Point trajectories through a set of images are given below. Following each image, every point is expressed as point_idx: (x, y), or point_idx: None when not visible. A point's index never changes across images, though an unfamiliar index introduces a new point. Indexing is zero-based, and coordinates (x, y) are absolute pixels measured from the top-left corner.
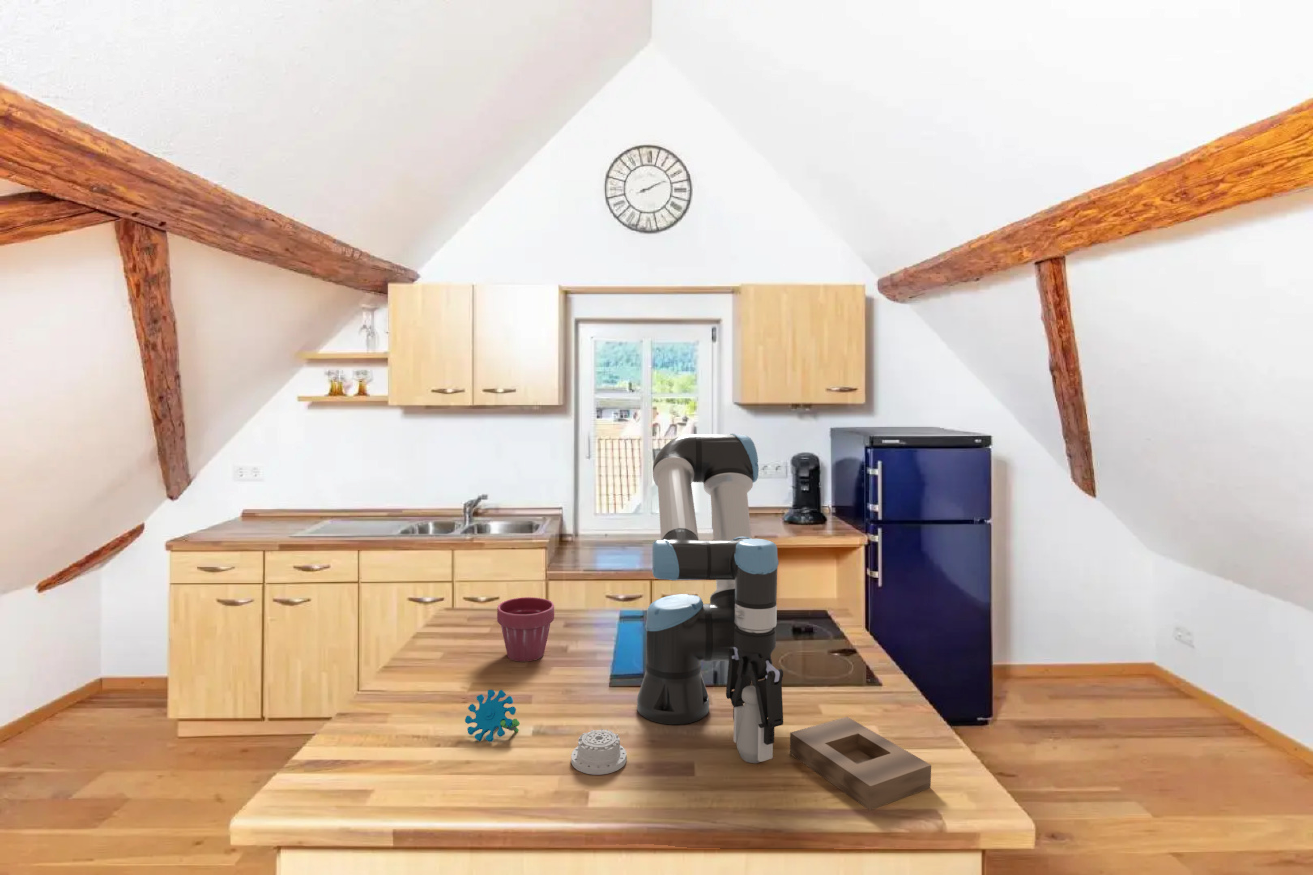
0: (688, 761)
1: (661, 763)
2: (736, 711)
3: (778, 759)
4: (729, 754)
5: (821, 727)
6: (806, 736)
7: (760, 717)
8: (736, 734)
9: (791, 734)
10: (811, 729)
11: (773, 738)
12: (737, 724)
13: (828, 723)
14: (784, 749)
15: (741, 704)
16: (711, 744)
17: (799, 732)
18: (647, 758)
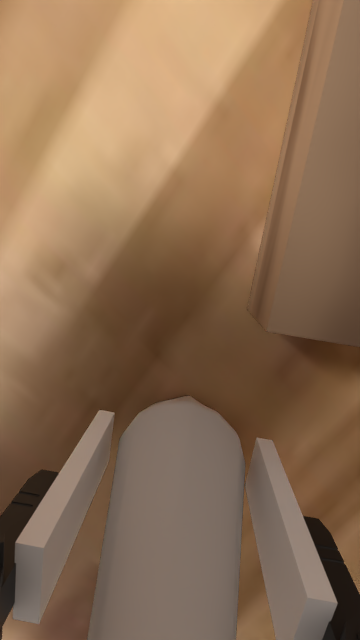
0: (87, 573)
1: (57, 622)
2: (47, 604)
3: (246, 371)
4: None
5: (355, 122)
6: (354, 293)
7: (236, 627)
8: (97, 483)
9: (275, 331)
10: (325, 201)
11: (335, 551)
12: (82, 519)
13: (357, 26)
14: (211, 300)
15: (10, 587)
16: (41, 468)
17: (301, 291)
18: (17, 629)
